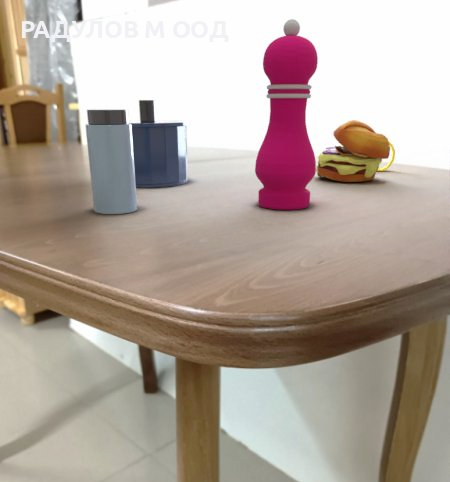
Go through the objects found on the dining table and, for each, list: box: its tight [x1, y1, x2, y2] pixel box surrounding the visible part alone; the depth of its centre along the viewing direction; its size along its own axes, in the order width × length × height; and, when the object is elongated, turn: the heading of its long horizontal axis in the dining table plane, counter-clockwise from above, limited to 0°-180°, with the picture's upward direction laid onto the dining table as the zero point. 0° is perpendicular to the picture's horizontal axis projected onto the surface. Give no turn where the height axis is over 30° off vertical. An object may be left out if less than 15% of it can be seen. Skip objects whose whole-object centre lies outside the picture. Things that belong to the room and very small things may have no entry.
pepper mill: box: [254, 18, 319, 211], centre depth 56 cm, size 7×7×20 cm
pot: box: [132, 125, 189, 189], centre depth 76 cm, size 11×11×8 cm
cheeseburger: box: [316, 119, 391, 183], centre depth 78 cm, size 10×11×10 cm
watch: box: [376, 136, 396, 172], centre depth 89 cm, size 6×3×6 cm, turn 77°
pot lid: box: [129, 99, 190, 127], centre depth 73 cm, size 12×12×4 cm
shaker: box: [84, 108, 138, 215], centre depth 55 cm, size 5×5×11 cm
